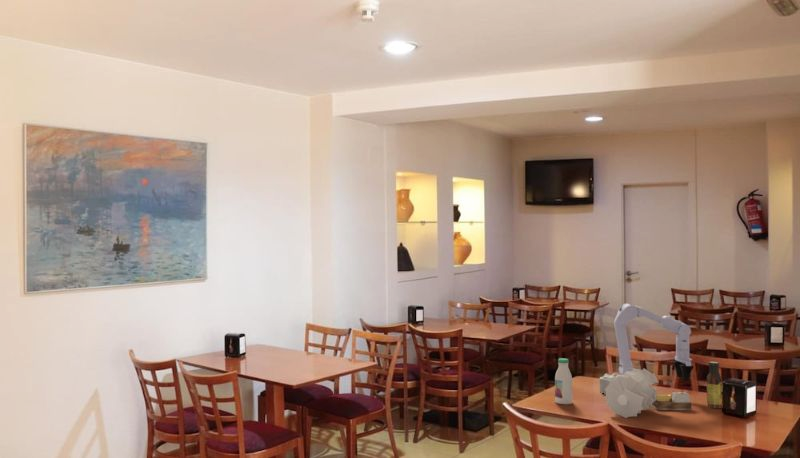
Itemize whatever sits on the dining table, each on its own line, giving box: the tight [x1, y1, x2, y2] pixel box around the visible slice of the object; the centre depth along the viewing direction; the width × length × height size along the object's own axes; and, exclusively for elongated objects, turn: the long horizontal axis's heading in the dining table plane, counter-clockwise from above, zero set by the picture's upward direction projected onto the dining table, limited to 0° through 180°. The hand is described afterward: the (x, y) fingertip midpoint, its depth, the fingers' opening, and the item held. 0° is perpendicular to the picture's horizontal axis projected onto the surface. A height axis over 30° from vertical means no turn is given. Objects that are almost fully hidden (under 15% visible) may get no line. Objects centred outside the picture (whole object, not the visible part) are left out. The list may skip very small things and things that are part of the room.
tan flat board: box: [652, 400, 693, 411], centre depth 285 cm, size 16×6×3 cm, turn 87°
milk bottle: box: [554, 357, 573, 405], centre depth 296 cm, size 8×8×20 cm
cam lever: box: [656, 393, 672, 401], centre depth 286 cm, size 8×2×2 cm, turn 87°
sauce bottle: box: [706, 361, 723, 409], centre depth 286 cm, size 7×6×20 cm
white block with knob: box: [671, 391, 691, 403], centre depth 285 cm, size 6×4×4 cm
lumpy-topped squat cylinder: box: [599, 373, 620, 395], centre depth 315 cm, size 10×13×9 cm
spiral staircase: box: [605, 367, 659, 419], centre depth 279 cm, size 18×18×25 cm
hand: (682, 378), depth 299 cm, fingers open, 7 cm apart
